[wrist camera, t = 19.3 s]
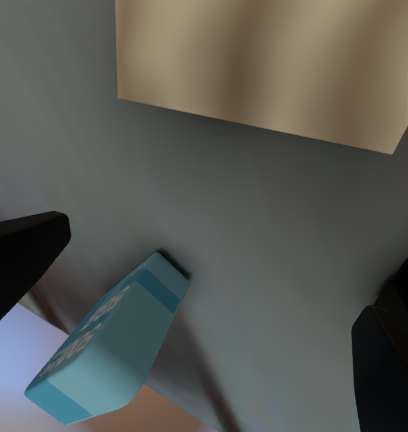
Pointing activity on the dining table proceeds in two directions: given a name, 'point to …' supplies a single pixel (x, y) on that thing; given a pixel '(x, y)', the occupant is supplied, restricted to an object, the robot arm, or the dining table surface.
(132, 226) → the dining table surface
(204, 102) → the panel
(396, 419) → the robot arm
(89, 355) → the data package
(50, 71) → the dining table surface
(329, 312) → the dining table surface
